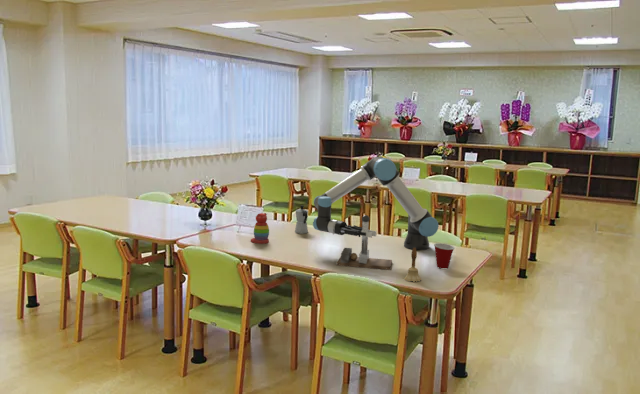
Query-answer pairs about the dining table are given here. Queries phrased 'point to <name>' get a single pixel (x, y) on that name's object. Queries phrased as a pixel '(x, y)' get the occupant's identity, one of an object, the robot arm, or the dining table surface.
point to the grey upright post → (364, 241)
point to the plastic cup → (443, 254)
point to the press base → (353, 261)
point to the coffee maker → (301, 221)
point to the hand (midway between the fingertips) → (373, 234)
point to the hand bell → (413, 269)
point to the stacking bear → (261, 229)
